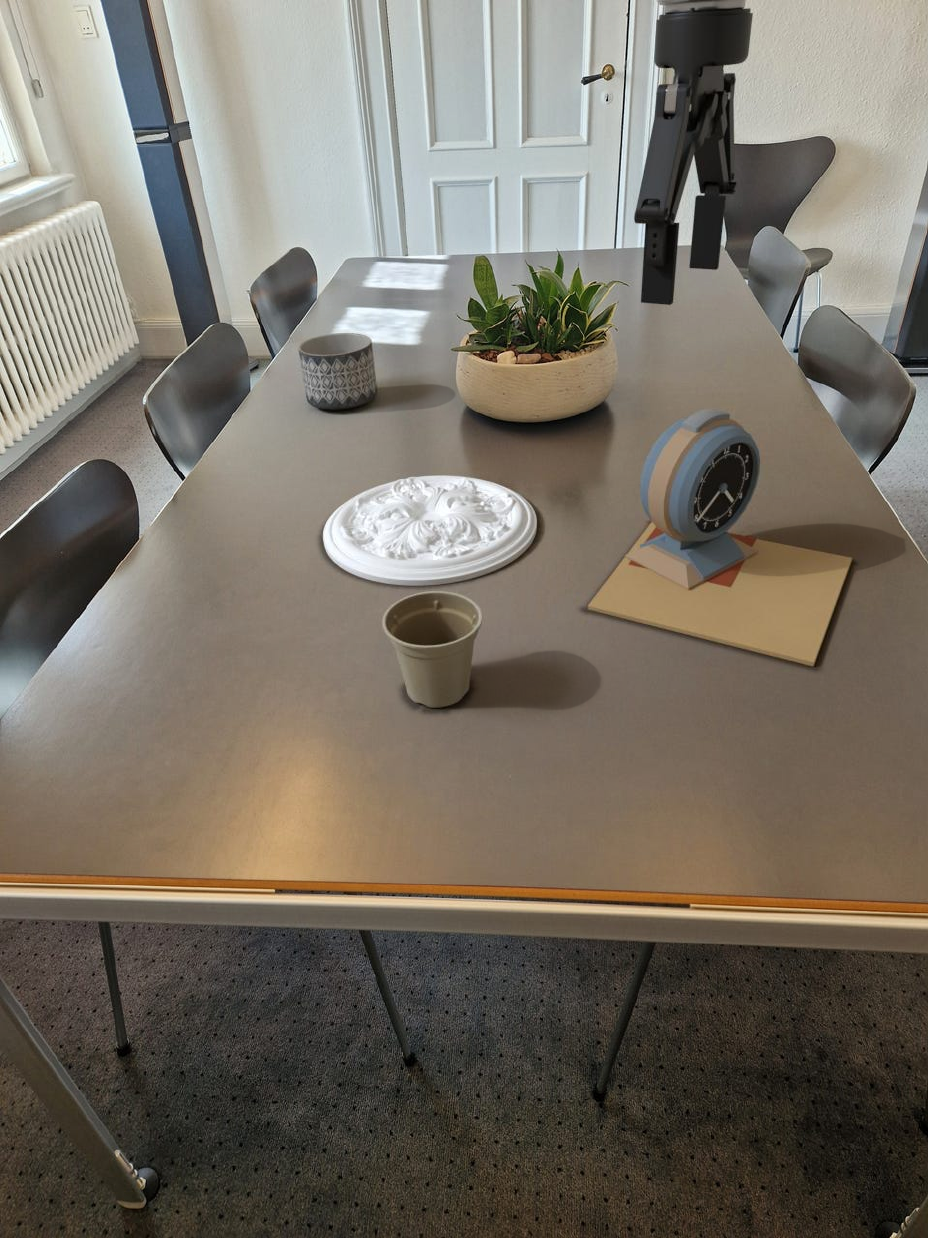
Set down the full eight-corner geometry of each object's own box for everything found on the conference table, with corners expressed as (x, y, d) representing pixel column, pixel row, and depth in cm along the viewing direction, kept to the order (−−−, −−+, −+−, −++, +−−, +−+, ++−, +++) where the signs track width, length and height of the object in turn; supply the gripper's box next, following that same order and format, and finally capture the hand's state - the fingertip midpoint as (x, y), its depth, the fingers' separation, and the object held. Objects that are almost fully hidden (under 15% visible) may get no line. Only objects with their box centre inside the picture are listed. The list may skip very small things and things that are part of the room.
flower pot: (446, 648, 90) (440, 579, 85) (505, 689, 84) (503, 617, 79) (373, 687, 85) (362, 616, 80) (430, 734, 79) (422, 660, 74)
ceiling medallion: (280, 559, 107) (276, 537, 105) (391, 470, 127) (389, 450, 126) (480, 605, 96) (479, 581, 95) (567, 499, 117) (568, 478, 115)
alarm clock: (681, 592, 95) (697, 444, 85) (619, 559, 101) (626, 418, 91) (763, 549, 101) (787, 407, 91) (699, 520, 108) (714, 385, 98)
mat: (851, 562, 99) (852, 556, 99) (813, 666, 84) (814, 661, 84) (653, 522, 110) (654, 517, 109) (587, 609, 94) (587, 604, 94)
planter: (374, 413, 147) (366, 353, 141) (301, 416, 148) (291, 356, 142) (381, 388, 157) (375, 331, 151) (314, 391, 158) (305, 334, 152)
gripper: (703, 5, 58) (677, 323, 70) (789, 2, 75) (756, 257, 87) (600, 13, 61) (592, 315, 73) (705, 8, 78) (685, 253, 90)
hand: (681, 284), depth 80 cm, fingers open, 13 cm apart
